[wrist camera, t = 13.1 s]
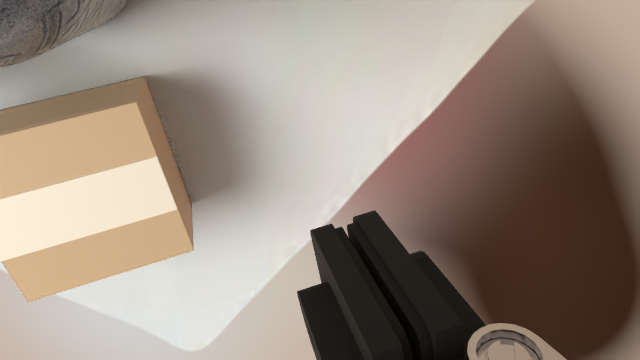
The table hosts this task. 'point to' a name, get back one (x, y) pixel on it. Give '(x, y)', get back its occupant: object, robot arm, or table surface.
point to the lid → (84, 201)
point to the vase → (48, 24)
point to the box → (100, 99)
